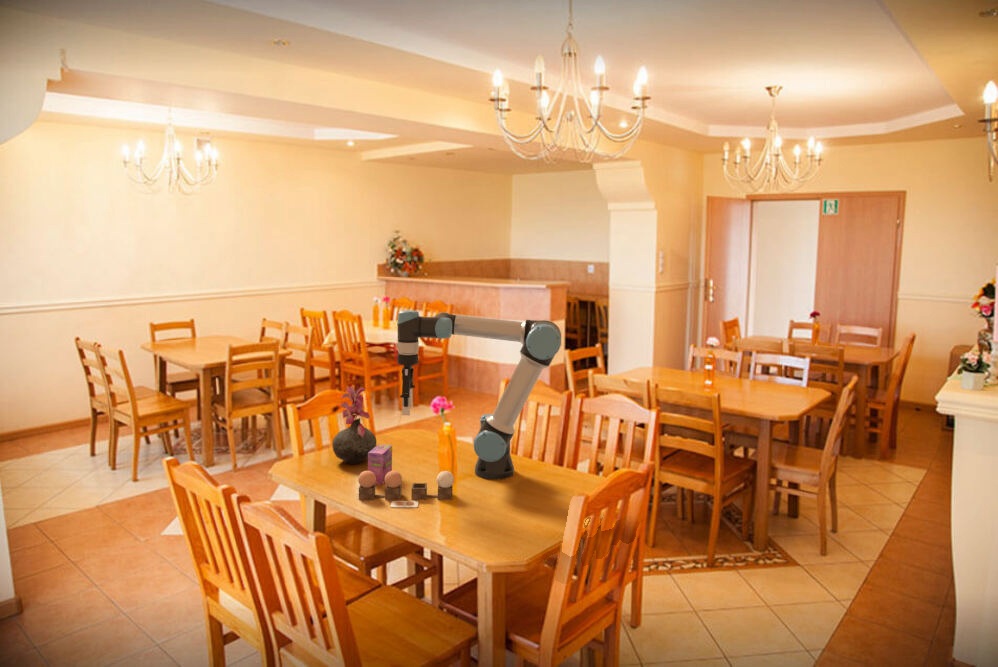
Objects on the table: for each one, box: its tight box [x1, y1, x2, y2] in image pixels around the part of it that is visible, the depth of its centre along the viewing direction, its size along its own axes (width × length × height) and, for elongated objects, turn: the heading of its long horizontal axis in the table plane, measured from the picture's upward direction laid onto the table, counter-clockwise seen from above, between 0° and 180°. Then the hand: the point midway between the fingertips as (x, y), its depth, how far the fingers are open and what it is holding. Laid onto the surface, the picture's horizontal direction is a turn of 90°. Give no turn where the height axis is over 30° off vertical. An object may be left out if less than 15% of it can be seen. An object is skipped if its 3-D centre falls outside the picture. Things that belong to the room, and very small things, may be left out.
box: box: [367, 443, 393, 485], centre depth 243 cm, size 10×6×12 cm, turn 168°
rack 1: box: [358, 483, 402, 501], centre depth 227 cm, size 14×5×4 cm, turn 93°
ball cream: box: [436, 470, 455, 488], centre depth 228 cm, size 6×6×6 cm
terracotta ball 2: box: [384, 470, 403, 488], centre depth 227 cm, size 6×6×6 cm
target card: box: [390, 500, 419, 509], centre depth 221 cm, size 9×5×1 cm, turn 93°
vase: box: [332, 386, 377, 465], centre depth 260 cm, size 17×17×30 cm
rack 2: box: [411, 482, 453, 501], centre depth 228 cm, size 14×5×4 cm, turn 93°
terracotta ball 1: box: [357, 470, 376, 488], centre depth 226 cm, size 6×6×6 cm
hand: (407, 410), depth 240 cm, fingers open, 13 cm apart
